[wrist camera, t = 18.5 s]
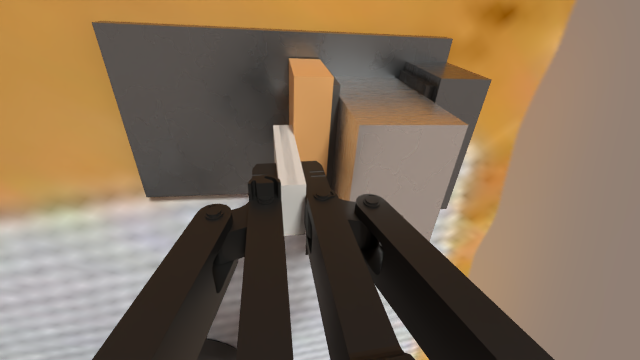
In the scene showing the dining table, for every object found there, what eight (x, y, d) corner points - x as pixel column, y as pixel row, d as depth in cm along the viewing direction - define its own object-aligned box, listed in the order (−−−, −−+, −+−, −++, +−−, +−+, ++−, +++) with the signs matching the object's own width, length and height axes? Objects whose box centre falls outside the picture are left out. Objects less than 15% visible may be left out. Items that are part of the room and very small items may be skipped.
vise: (408, 181, 27) (440, 224, 22) (150, 190, 24) (118, 242, 19) (445, 37, 21) (501, 50, 16) (100, 21, 17) (31, 31, 12)
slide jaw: (320, 177, 24) (330, 216, 20) (289, 178, 23) (293, 218, 19) (327, 59, 19) (343, 77, 15) (288, 58, 19) (294, 76, 14)
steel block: (380, 164, 24) (429, 241, 17) (320, 166, 24) (343, 247, 16) (396, 77, 21) (468, 125, 13) (325, 75, 20) (359, 125, 12)
